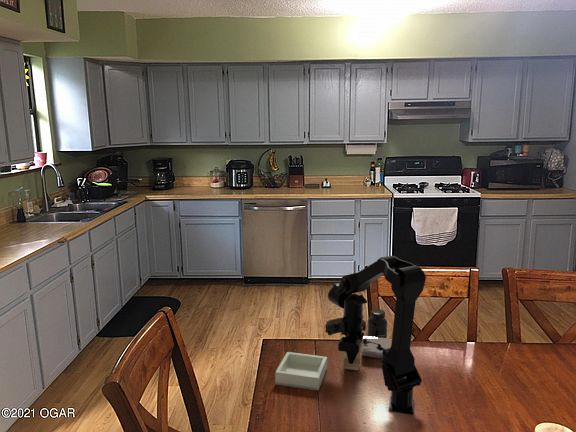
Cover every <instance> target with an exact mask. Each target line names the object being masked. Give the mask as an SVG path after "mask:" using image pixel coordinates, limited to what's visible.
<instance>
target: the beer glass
mask: <svg viewBox="0 0 576 432" xmlns="http://www.w3.org/2000/svg"><path fill="white" fill-rule="evenodd" d="M361 343H362V344H361V356H364V357H367V358H374V359H375V358H377V359H382V352H383V350H384V349H388V348H390V347H391V343H392V338H388V337H387V338H384V337H380V336H367V334H366V335H365V334H364V336H363V339H362V341H361Z"/></svg>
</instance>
